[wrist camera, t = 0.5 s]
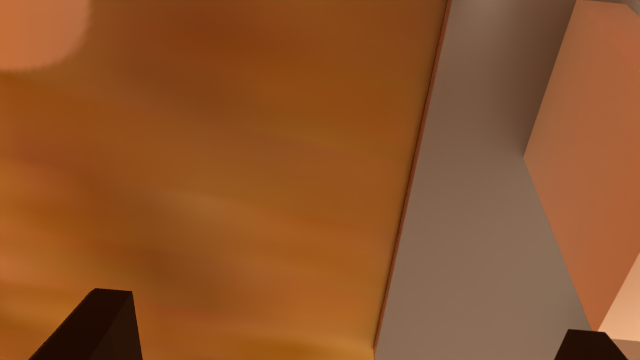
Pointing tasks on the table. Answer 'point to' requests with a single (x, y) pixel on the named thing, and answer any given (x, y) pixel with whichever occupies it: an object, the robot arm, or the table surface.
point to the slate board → (482, 198)
